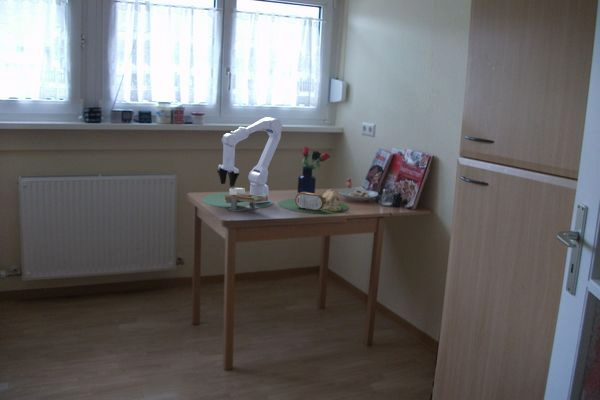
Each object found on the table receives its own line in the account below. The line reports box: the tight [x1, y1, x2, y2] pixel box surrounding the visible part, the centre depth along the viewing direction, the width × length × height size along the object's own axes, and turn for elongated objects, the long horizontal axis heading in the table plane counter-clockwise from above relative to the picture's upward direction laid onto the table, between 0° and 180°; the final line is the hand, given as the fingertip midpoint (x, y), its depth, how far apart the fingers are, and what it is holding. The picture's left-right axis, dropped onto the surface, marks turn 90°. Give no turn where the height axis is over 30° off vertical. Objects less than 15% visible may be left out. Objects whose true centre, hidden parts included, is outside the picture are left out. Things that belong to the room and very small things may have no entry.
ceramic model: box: [321, 188, 342, 212], centre depth 309 cm, size 14×11×10 cm
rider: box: [228, 187, 246, 197], centre depth 296 cm, size 5×6×4 cm
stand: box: [228, 198, 259, 213], centre depth 293 cm, size 14×5×6 cm, turn 133°
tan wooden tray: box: [224, 193, 269, 204], centre depth 292 cm, size 10×22×4 cm, turn 43°
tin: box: [294, 191, 325, 211], centre depth 303 cm, size 15×3×8 cm, turn 71°
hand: (227, 185), depth 302 cm, fingers open, 7 cm apart
